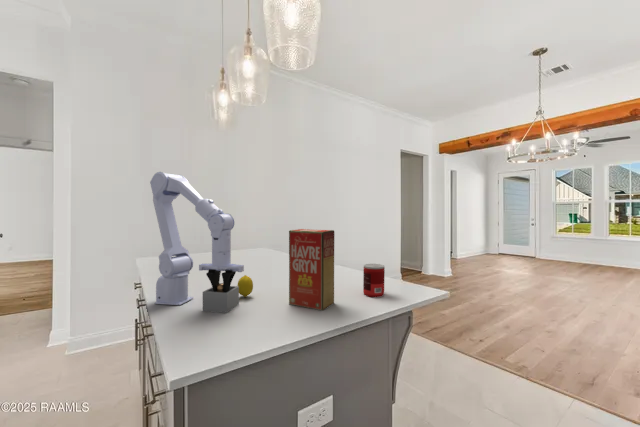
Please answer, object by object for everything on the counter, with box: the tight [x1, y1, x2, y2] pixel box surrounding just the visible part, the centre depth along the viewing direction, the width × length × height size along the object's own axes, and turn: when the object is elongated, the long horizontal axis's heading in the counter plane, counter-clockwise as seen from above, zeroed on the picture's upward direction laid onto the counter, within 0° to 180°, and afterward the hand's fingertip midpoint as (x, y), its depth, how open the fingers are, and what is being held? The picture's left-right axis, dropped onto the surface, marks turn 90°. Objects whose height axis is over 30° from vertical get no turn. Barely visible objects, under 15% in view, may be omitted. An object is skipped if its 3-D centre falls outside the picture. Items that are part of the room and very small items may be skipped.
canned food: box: [362, 263, 385, 298], centre depth 111 cm, size 8×8×11 cm
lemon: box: [236, 274, 254, 298], centre depth 106 cm, size 6×6×8 cm
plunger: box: [217, 282, 223, 292], centre depth 95 cm, size 6×6×7 cm
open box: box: [202, 285, 240, 314], centre depth 95 cm, size 8×8×6 cm
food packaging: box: [288, 228, 335, 311], centre depth 99 cm, size 13×9×25 cm
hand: (221, 293), depth 95 cm, fingers closed on plunger, 3 cm apart
